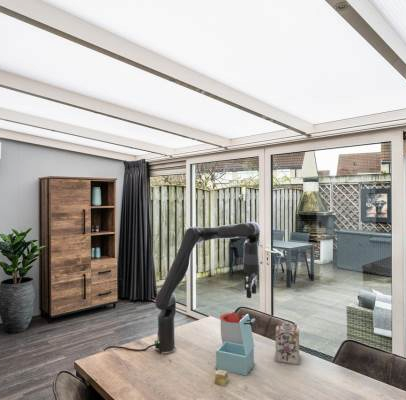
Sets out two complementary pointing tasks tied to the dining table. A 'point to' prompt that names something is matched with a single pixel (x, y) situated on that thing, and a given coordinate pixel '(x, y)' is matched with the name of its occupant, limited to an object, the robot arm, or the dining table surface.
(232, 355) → the box
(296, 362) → the decorative jar
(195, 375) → the dining table surface
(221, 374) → the block
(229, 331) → the citrus juicer
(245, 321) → the freezer lid
